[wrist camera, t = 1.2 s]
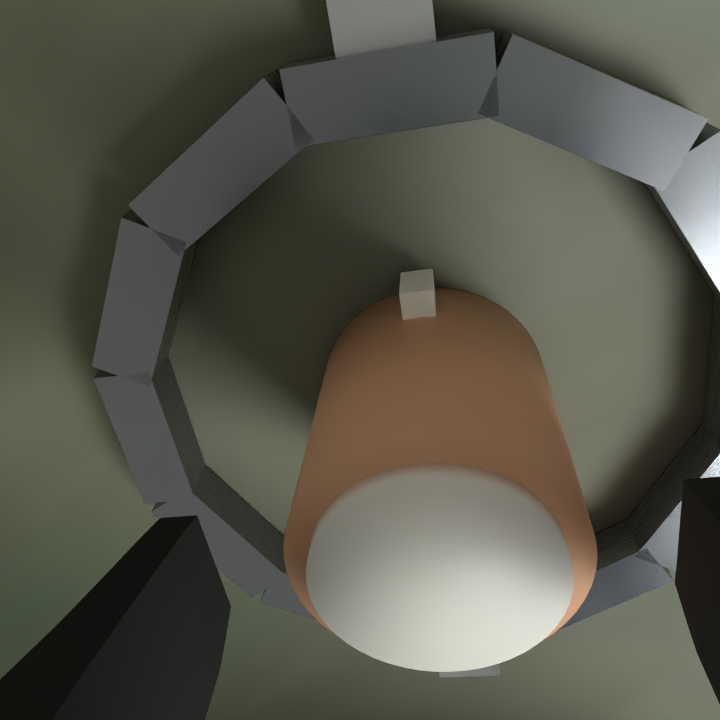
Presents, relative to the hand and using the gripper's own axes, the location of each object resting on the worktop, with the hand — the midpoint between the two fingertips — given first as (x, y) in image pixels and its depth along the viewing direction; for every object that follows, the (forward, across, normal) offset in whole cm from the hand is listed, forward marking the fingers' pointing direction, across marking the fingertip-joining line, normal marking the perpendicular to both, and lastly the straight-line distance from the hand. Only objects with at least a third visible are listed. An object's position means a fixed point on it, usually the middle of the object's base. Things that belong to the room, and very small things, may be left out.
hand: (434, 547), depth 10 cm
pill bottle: (+5, 0, 0) cm, 5 cm away
